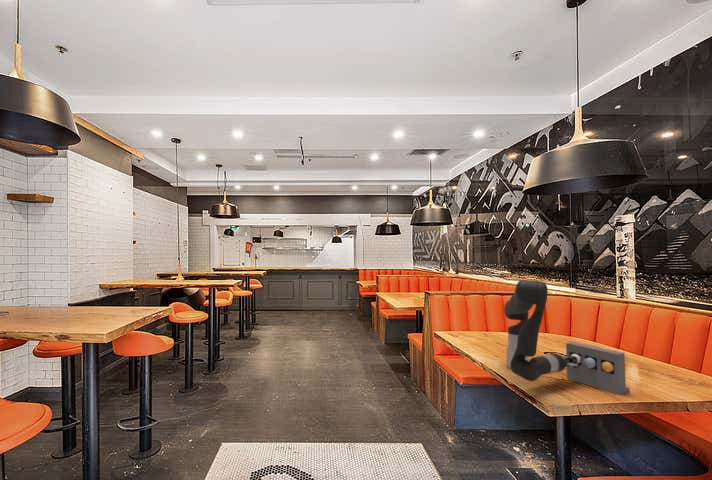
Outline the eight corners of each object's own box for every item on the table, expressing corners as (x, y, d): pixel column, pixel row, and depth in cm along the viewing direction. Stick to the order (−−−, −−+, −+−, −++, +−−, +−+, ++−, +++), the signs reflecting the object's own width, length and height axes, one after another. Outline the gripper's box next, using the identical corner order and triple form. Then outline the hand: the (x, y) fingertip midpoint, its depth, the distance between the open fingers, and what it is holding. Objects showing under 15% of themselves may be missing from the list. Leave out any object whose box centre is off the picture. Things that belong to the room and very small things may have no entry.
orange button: (601, 370, 144) (601, 360, 145) (605, 369, 146) (605, 359, 146) (612, 373, 141) (612, 363, 141) (616, 372, 142) (616, 362, 142)
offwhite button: (570, 362, 156) (570, 353, 156) (574, 361, 157) (574, 352, 158) (579, 364, 152) (579, 355, 153) (583, 363, 154) (583, 354, 154)
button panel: (567, 378, 157) (566, 343, 158) (577, 376, 161) (576, 341, 162) (619, 394, 139) (617, 354, 140) (629, 391, 142) (628, 352, 143)
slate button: (583, 366, 150) (583, 357, 150) (587, 365, 151) (587, 356, 151) (593, 369, 146) (593, 359, 146) (597, 368, 147) (597, 358, 148)
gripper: (565, 358, 141) (590, 353, 149) (535, 350, 153) (560, 346, 160) (566, 377, 140) (590, 371, 148) (536, 368, 152) (560, 363, 160)
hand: (574, 358), depth 154 cm, fingers closed
